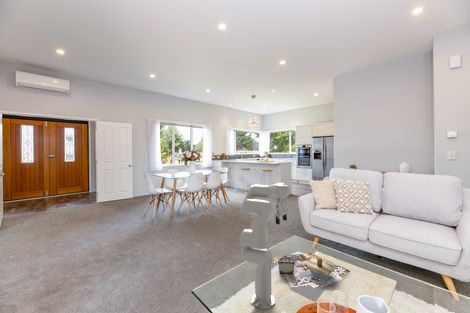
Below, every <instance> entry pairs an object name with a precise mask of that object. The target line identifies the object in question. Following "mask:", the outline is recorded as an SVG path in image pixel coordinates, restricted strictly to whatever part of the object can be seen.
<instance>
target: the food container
mask: <svg viewBox="0 0 470 313" xmlns="http://www.w3.org/2000/svg"><path fill="white" fill-rule="evenodd" d="M277 265H278V273H279V275H285V274H294V275H295V273H294V272H295V266H296V262H295V260H294V259H293V258H291V257H285V256H283V257H280V258H278V260H277Z"/></svg>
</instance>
